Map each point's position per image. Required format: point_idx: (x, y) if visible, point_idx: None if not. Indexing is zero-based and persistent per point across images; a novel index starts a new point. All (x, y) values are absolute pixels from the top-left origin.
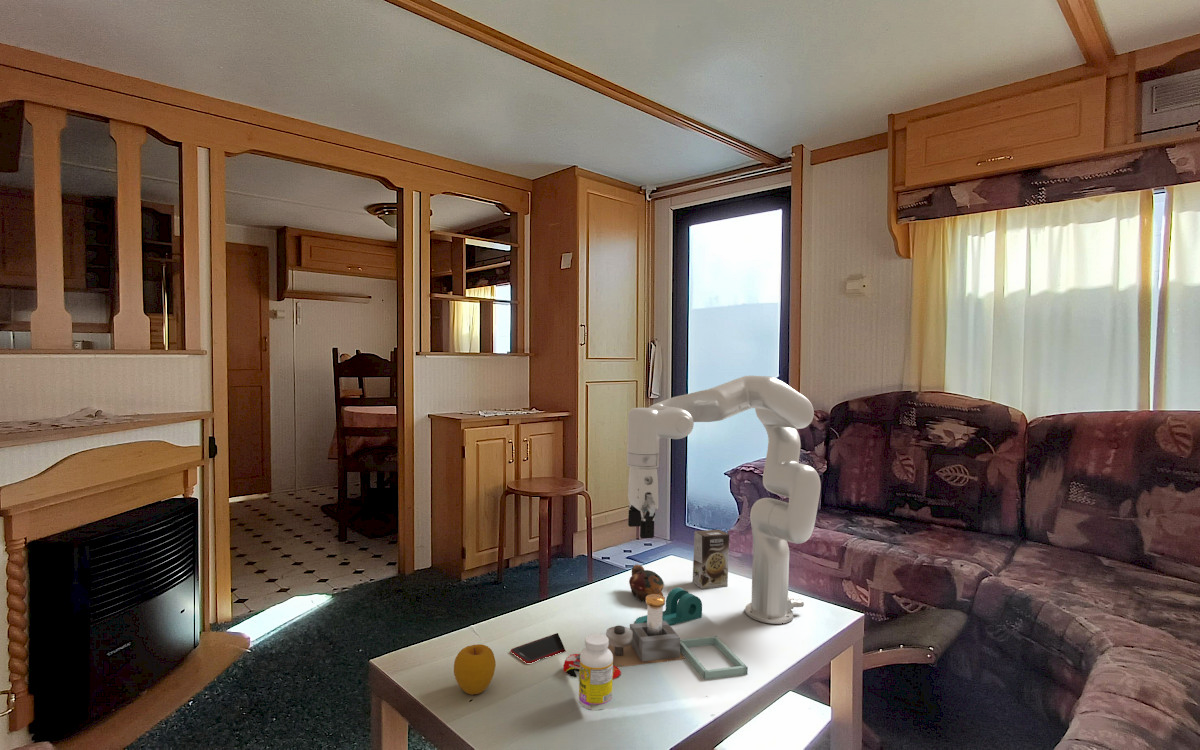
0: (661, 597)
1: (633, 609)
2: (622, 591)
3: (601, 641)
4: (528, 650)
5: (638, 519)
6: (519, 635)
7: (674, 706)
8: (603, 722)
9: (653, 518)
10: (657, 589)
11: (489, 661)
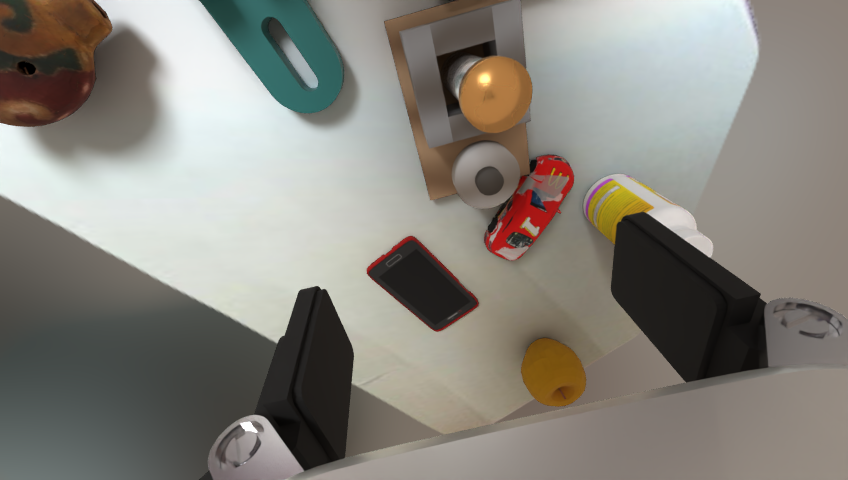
0: (495, 71)
1: (174, 105)
2: (36, 133)
3: (702, 249)
4: (439, 309)
5: (325, 342)
6: (376, 327)
7: (662, 48)
8: (664, 185)
9: (842, 331)
10: (64, 16)
11: (578, 369)
